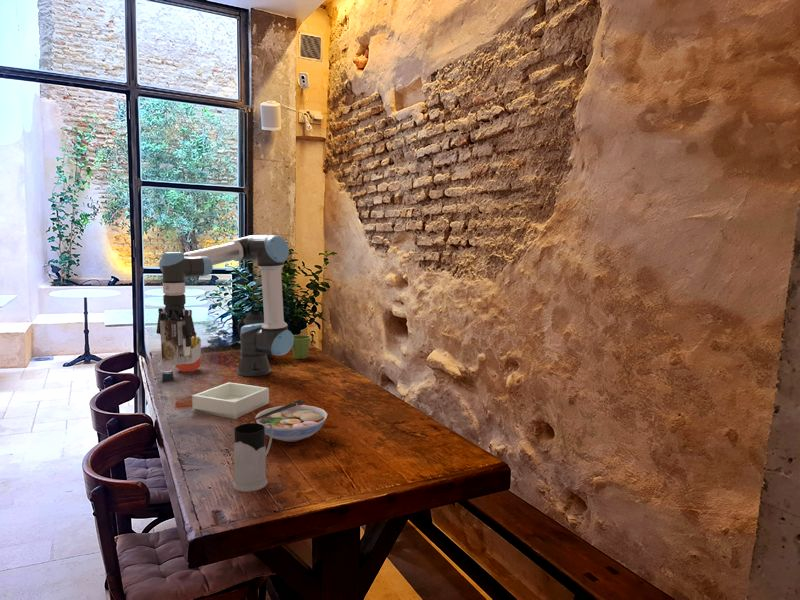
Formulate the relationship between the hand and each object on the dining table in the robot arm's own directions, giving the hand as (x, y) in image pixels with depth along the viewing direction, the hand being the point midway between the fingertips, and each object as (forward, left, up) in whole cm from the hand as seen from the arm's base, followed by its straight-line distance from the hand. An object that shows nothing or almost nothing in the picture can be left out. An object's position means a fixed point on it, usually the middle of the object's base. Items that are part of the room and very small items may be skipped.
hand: (176, 353), depth 200 cm
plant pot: (-3, +90, -20) cm, 92 cm away
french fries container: (-35, +43, -20) cm, 59 cm away
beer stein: (-24, +78, -20) cm, 84 cm away
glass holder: (+65, -39, -20) cm, 78 cm away
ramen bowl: (+57, -10, -20) cm, 61 cm away
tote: (+19, +7, -20) cm, 29 cm away
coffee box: (0, 0, -3) cm, 3 cm away
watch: (-32, +27, -20) cm, 46 cm away
